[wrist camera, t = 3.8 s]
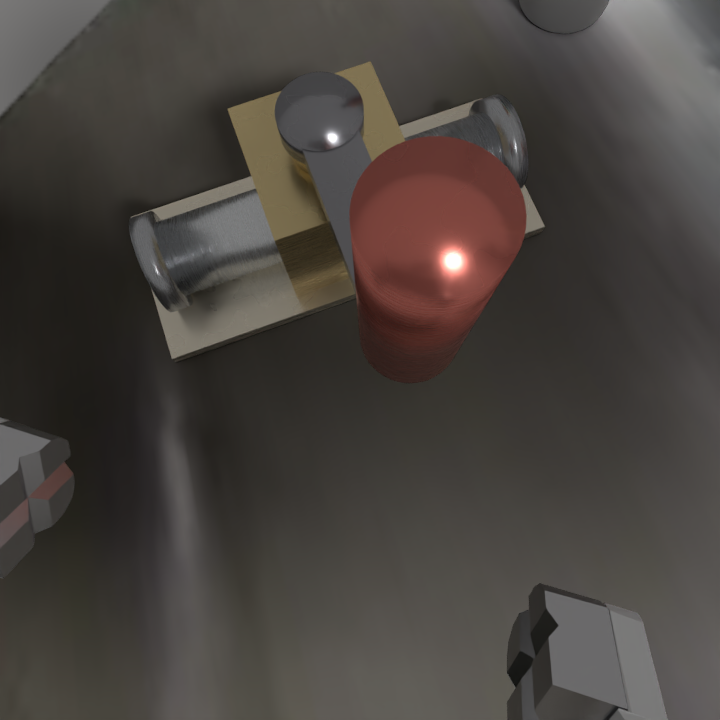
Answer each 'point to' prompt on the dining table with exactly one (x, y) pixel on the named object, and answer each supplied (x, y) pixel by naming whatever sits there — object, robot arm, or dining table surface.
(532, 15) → the lotion bottle
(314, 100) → the lever
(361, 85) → the pipe valve
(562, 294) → the dining table surface
